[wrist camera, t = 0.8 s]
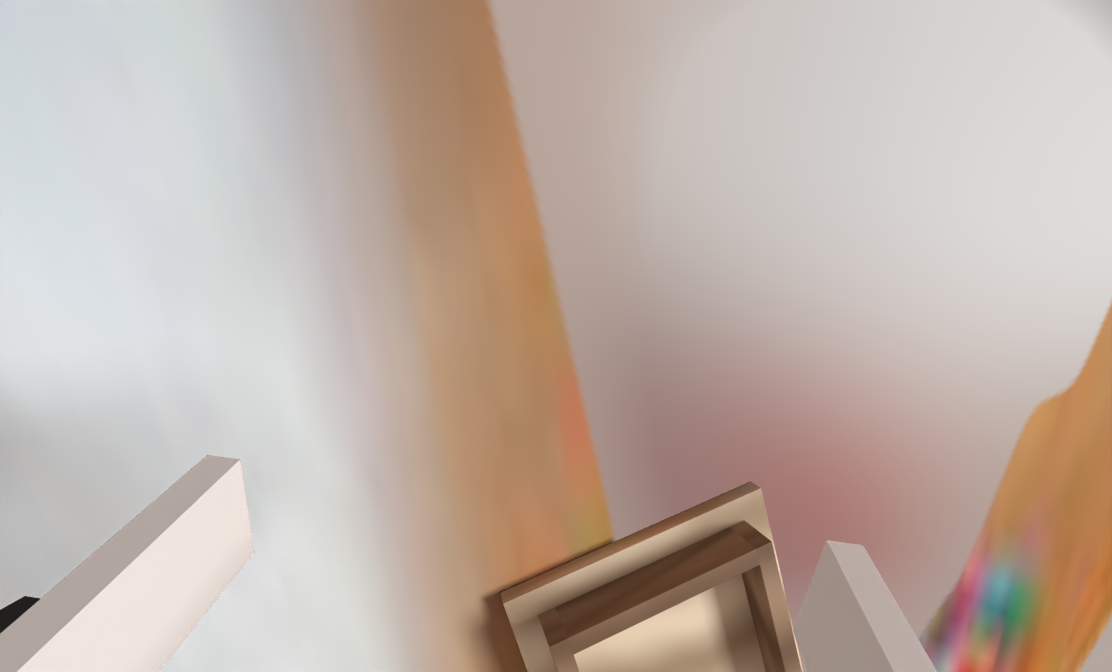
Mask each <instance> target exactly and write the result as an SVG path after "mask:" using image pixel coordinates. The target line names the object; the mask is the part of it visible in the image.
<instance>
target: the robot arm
mask: <svg viewBox="0 0 1112 672" xmlns="http://www.w3.org/2000/svg"><path fill="white" fill-rule="evenodd" d="M254 552H255V551H254V545H253V539H252V532H251V526H250V520H249V514H248V507H247V501H246V495H245V489H244V482H243V476H242V470H241V463H240V460H238V459H231V458H224V457H217V456H209V455H207V456H206V457H205V458H203V459H202V460H201V461H200V462H199V463H198V464H197V465H195V466H194V467H193V468H192V469H191V470H190V471H188V472H187V473H186V474H185V475H184V476H183V477H181V478H180V479H179V480H178V481H177V482H176V483H174V484H173V485H172V486H171V487H170V488H169V489H168V490H166V491H165V492H164V493H163V494H162V495H161V496H159V497H158V498H157V499H156V500H155V501H154V502H152V503H151V504H150V505H149V506H148V507H147V508H145V509H144V510H143V511H142V512H141V513H140V514H139V515H137V516H136V517H135V518H134V519H133V520H132V521H130V522H129V523H128V524H127V525H126V526H125V527H123V528H122V529H121V530H120V531H119V532H118V533H116V534H115V535H114V536H113V537H112V538H111V539H110V540H108V541H107V542H106V543H105V544H104V545H103V546H101V547H100V548H99V549H98V550H97V551H96V552H94V553H93V554H92V555H91V556H90V557H89V558H87V559H86V560H85V561H84V562H83V563H82V564H81V565H79V566H78V567H77V568H76V569H75V570H74V571H72V572H71V573H70V574H69V575H68V576H67V577H65V578H64V579H63V580H62V581H61V582H60V583H58V584H57V585H56V586H55V587H54V588H53V589H51V590H50V591H49V592H48V593H47V594H46V595H45V596H43V597H42V598H41V599H40V598H33V597H27V596H24V597H23V598H21V599H19V600H17V601H15V602H14V603H12V604H10V605H8V606H7V607H5V608H3V609H1V610H0V672H159V671H160V670H161V669H162V667H163V666H164V665H165V664H166V662H167V661H168V660H169V659H170V657H171V656H172V655H173V654H174V652H175V651H176V650H177V649H178V647H179V646H180V645H181V644H182V642H183V641H184V640H185V639H186V637H187V636H188V635H189V634H190V632H191V631H192V630H193V629H194V627H195V626H196V625H197V624H198V622H199V621H200V620H201V619H202V617H203V616H204V615H205V614H206V612H207V611H208V610H209V609H210V607H211V606H212V605H213V604H214V602H215V601H216V600H217V599H218V597H219V596H220V595H221V594H222V592H223V591H224V590H225V589H226V587H227V586H228V585H229V584H230V582H231V581H232V580H233V579H234V577H235V576H236V575H237V574H238V572H239V571H240V570H241V569H242V567H243V566H244V565H245V564H246V562H247V561H248V560H249V559H250V557H251V556H252V555H253V554H254ZM793 632H794V635H795V638H796V641H797V644H798V646H799V649H800V652H801V655H802V658H803V660H804V663H805V666H806V668H807V672H937V671H936V669H935V667H934V666H933V664H932V662H931V661H930V659H929V657H928V655H927V654H926V652H925V650H924V649H923V647H922V645H921V644H920V642H919V640H918V638H917V637H916V635H915V633H914V632H913V630H912V628H911V627H910V625H909V623H908V621H907V620H906V618H905V616H904V615H903V613H902V611H901V610H900V608H899V606H898V604H897V603H896V601H895V600H894V598H893V596H892V594H891V593H890V591H889V589H888V587H887V586H886V584H885V582H884V581H883V579H882V577H881V576H880V574H879V572H878V570H877V569H876V567H875V565H874V564H873V562H872V560H871V559H870V557H869V555H868V554H867V552H866V550H865V548H864V547H863V545H856V544H848V543H841V542H834V541H826V544H825V547H824V549H823V552H822V554H821V557H820V560H819V562H818V565H817V568H816V571H815V573H814V575H813V578H812V581H811V583H810V586H809V589H808V591H807V594H806V597H805V599H804V602H803V604H802V607H801V610H800V612H799V615H798V618H797V620H796V623H795V626H794V628H793Z"/></svg>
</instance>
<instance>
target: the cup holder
mask: <svg viewBox="0 0 1112 672" xmlns="http://www.w3.org/2000/svg"><path fill="white" fill-rule="evenodd" d="M500 594H501V598H502V602H503V605H504V608H505V611H506V613H507V616H508V619H509V622H510V624H511V627H512V630H513V633H514V636H515V638H516V641H517V644H518V647H519V649H520V652H521V655H522V658H523V661H524V663H525V666H526V669H527V672H803V668H802V664H801V660H800V655H799V651H798V647H797V642H796V638H795V635H794V632H793V625H792V621H791V617H790V612H789V608H788V603H787V599H786V595H785V590H784V586H783V582H782V578H781V574H780V569H779V565H778V561H777V556H776V551H775V547H774V543H773V538H772V534H771V530H770V525H769V521H768V517H767V512H766V508H765V504H764V499H763V495H762V491H761V488H760V487H758V486H757V485H755V484H754V483H752V482H748V483H746V484H744V485H742V486H739V487H737V488H735V489H732V490H730V491H728V492H726V493H723V494H721V495H719V496H717V497H714V498H712V499H710V500H708V501H706V502H703V503H701V504H699V505H696V506H694V507H692V508H690V509H688V510H685V511H683V512H681V513H678V514H676V515H674V516H672V517H669V518H667V519H665V520H663V521H660V522H658V523H656V524H654V525H651V526H649V527H647V528H645V529H643V530H640V531H638V532H636V533H633V534H631V535H629V536H627V537H624V538H622V539H620V540H618V541H615V542H613V543H611V544H609V545H606V546H604V547H602V548H599V549H597V550H595V551H593V552H590V553H588V554H586V555H584V556H581V557H579V558H577V559H575V560H572V561H570V562H568V563H566V564H563V565H561V566H559V567H557V568H554V569H552V570H550V571H548V572H545V573H543V574H541V575H539V576H536V577H534V578H532V579H530V580H527V581H525V582H523V583H521V584H518V585H516V586H514V587H512V588H509V589H507V590H505V591H503V592H500Z"/></svg>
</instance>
